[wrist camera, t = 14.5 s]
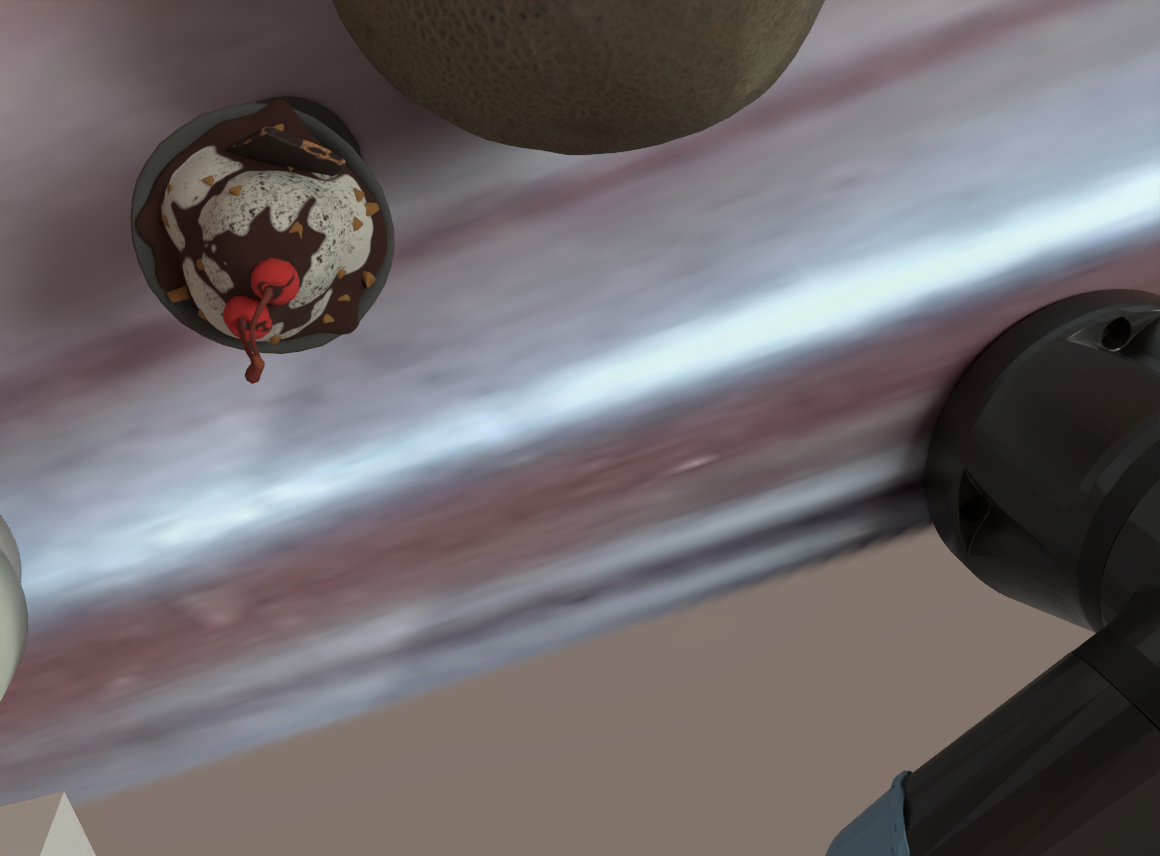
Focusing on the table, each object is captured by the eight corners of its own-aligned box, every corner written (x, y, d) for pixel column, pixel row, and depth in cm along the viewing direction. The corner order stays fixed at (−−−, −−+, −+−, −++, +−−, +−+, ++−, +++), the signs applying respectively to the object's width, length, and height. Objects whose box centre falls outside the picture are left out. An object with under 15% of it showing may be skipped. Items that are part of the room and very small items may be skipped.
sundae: (278, 297, 37) (225, 479, 24) (152, 141, 34) (9, 249, 21) (425, 198, 37) (456, 328, 23) (309, 31, 34) (268, 70, 20)
